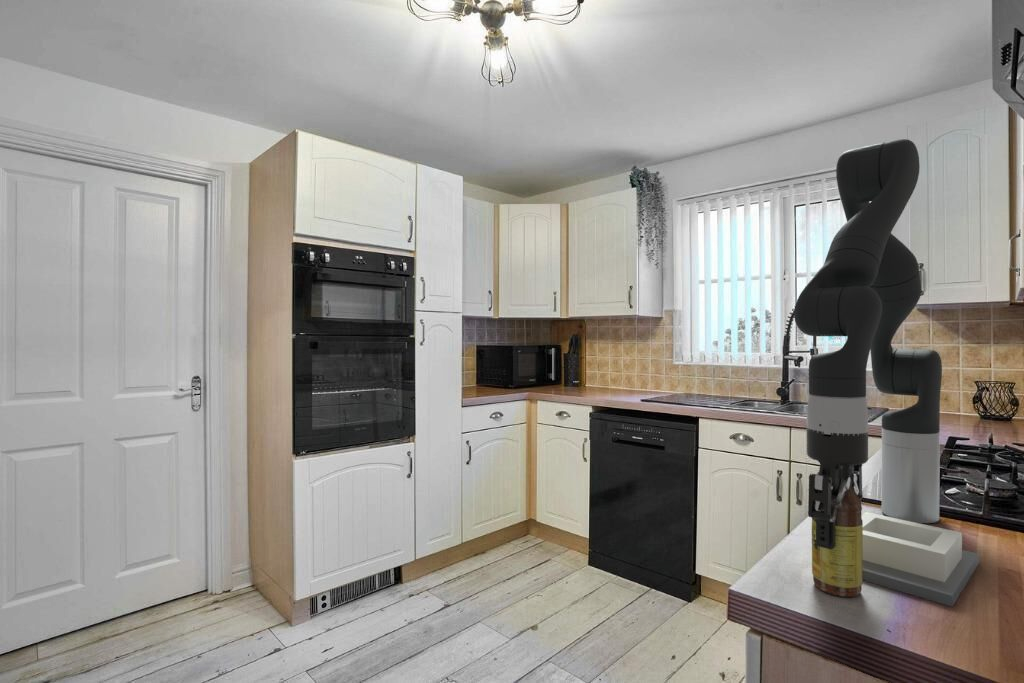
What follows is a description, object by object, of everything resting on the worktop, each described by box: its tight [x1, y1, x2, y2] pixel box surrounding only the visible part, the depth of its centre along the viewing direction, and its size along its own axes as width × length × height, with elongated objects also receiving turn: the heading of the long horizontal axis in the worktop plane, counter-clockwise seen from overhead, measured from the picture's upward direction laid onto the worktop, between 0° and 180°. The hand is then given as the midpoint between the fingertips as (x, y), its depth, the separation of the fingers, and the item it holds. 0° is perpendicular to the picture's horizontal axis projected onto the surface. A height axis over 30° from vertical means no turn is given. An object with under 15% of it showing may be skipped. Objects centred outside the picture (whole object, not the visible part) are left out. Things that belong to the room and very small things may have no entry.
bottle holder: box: [861, 511, 980, 607], centre depth 84 cm, size 20×16×6 cm
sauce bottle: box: [811, 464, 863, 598], centre depth 77 cm, size 7×6×20 cm
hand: (836, 539), depth 77 cm, fingers open, 8 cm apart
